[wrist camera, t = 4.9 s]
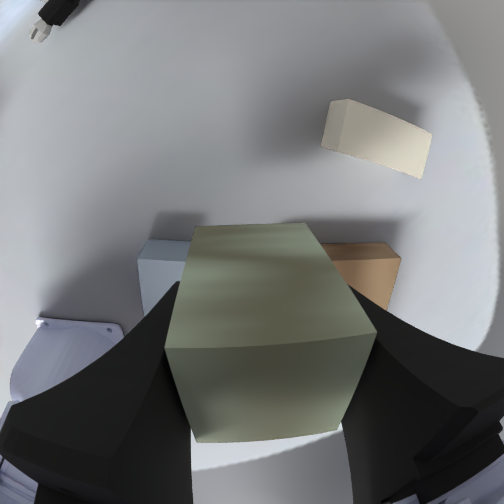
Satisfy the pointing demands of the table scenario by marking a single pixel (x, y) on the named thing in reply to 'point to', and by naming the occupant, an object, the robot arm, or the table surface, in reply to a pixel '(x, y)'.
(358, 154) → the cream brick
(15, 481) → the robot arm
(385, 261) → the walnut slab
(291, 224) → the sage block
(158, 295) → the slate brick
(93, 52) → the table surface
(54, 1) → the robot toy
